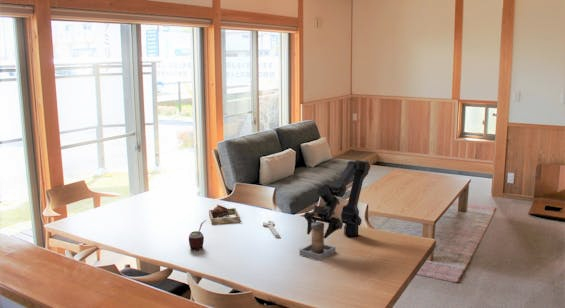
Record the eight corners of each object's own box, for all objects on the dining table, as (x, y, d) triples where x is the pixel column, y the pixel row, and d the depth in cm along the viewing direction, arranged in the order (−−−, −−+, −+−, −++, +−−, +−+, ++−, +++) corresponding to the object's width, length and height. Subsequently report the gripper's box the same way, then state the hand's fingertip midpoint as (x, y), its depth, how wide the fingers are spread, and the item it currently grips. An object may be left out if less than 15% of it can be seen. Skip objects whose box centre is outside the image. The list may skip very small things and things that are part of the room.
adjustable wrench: (280, 239, 268) (280, 235, 268) (268, 239, 267) (268, 236, 267) (273, 223, 292) (273, 220, 292) (261, 224, 291) (261, 221, 291)
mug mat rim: (235, 212, 311) (235, 208, 311) (240, 221, 295) (239, 216, 294) (209, 214, 308) (208, 209, 307) (211, 224, 291) (211, 218, 291)
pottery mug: (208, 217, 306) (214, 203, 307) (223, 223, 308) (229, 209, 310) (212, 217, 294) (218, 203, 296) (227, 224, 296) (233, 210, 298)
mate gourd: (187, 247, 256) (186, 217, 253) (203, 245, 259) (202, 215, 256) (191, 252, 249) (190, 222, 247) (207, 250, 252) (206, 220, 250)
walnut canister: (317, 248, 251) (317, 221, 248) (326, 251, 247) (326, 223, 244) (308, 251, 247) (308, 224, 244) (318, 255, 242) (318, 226, 240)
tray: (314, 246, 255) (314, 242, 255) (335, 252, 248) (335, 247, 248) (299, 254, 245) (299, 249, 245) (320, 260, 238) (320, 255, 238)
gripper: (305, 195, 251) (292, 223, 244) (339, 201, 240) (326, 231, 233) (315, 207, 258) (302, 235, 252) (348, 214, 247) (335, 243, 241)
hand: (316, 236), depth 244 cm, fingers open, 9 cm apart
